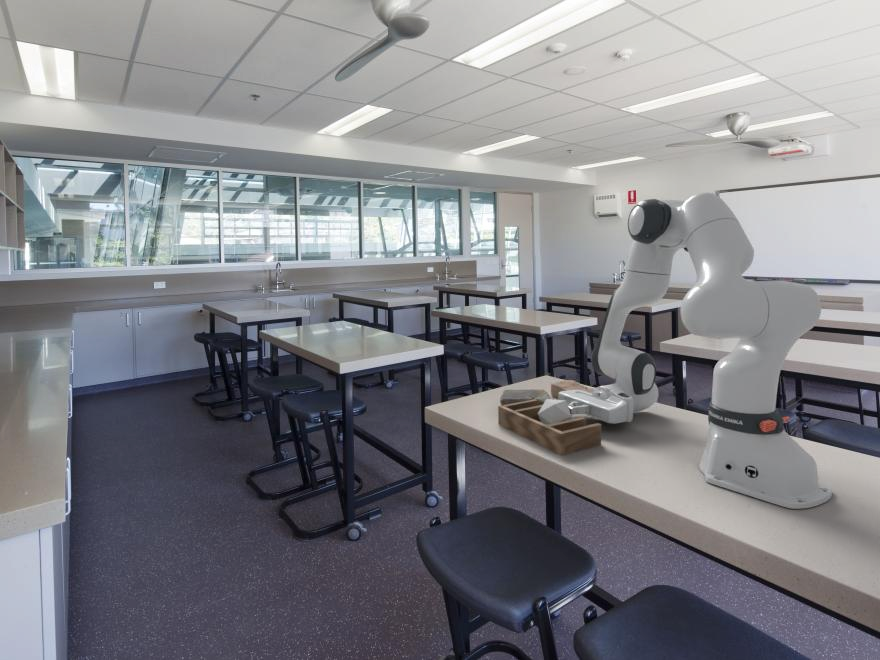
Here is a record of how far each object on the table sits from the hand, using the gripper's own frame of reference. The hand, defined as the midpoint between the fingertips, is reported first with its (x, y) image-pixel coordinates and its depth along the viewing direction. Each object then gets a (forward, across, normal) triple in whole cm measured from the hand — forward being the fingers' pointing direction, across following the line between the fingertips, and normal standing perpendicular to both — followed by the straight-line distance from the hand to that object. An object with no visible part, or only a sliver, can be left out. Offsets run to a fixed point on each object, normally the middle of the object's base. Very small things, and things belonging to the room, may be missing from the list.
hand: (568, 410), depth 133 cm
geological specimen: (0, -18, +6) cm, 19 cm away
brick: (-20, -18, +6) cm, 27 cm away
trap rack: (+7, 0, +5) cm, 8 cm away
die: (+3, -1, +5) cm, 6 cm away
